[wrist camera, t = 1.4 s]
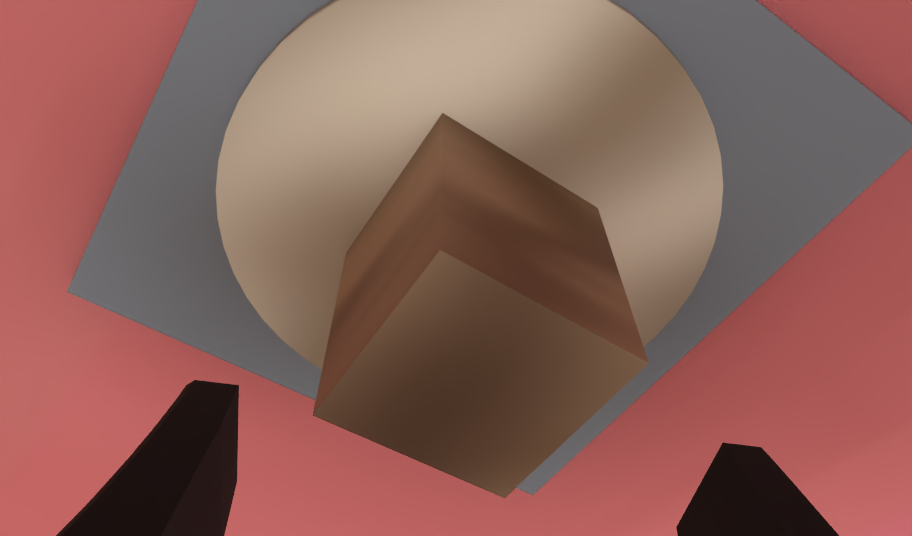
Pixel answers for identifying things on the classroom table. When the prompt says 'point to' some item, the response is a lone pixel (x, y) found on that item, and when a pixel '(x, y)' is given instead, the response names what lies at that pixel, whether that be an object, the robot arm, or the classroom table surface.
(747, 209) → the mat
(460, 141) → the lid
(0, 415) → the classroom table surface
